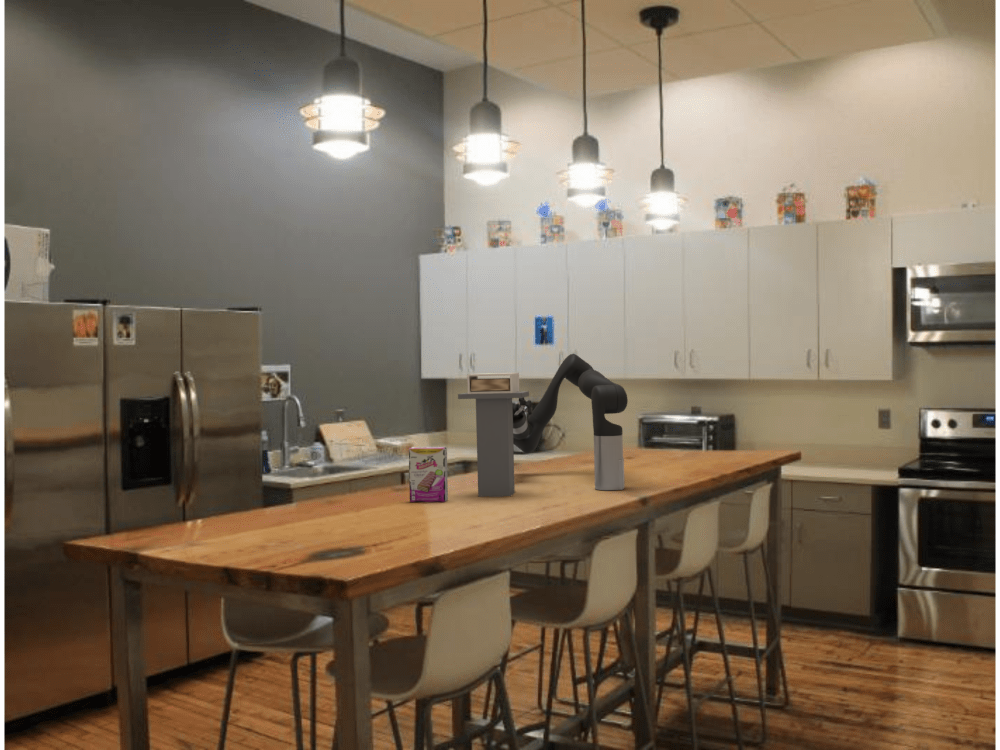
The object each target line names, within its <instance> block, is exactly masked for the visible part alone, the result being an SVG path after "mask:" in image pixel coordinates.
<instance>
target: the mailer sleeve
mask: <svg viewBox="0 0 1000 750" xmlns="http://www.w3.org/2000/svg"><path fill="white" fill-rule="evenodd" d="M497 376H498V377H499V376H500V377H501V376H503V377H504V376H509V378H510V390H492V391H471V380H474V379H479V377H497ZM466 377H467V393H468V394H491V393H515V392H520V373H519V372H493V373H492V372H490V373H486V372H485V373H468V374H467V375H466Z"/></svg>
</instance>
